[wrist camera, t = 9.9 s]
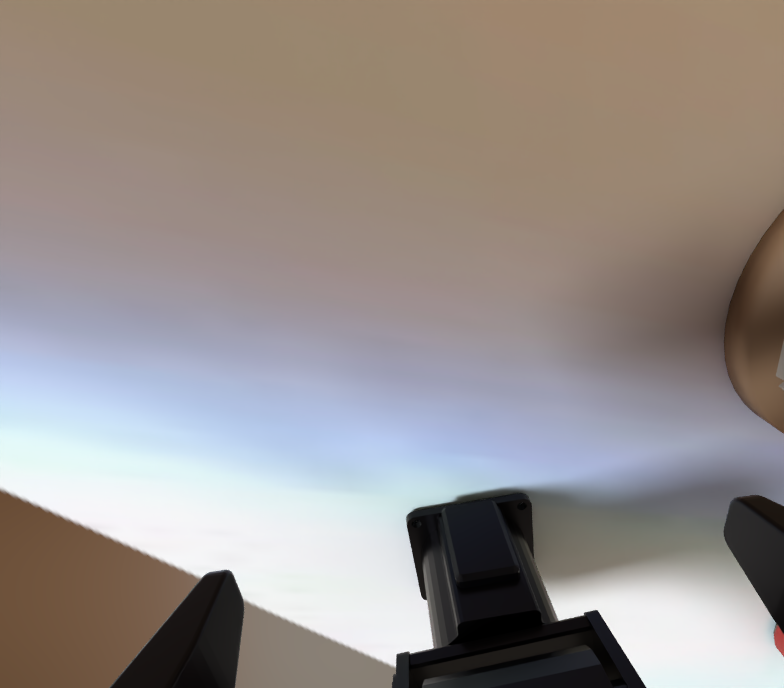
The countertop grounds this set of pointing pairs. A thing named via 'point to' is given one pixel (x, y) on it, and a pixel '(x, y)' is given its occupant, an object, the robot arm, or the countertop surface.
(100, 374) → the countertop surface
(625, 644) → the countertop surface
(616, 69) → the countertop surface
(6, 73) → the countertop surface
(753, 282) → the ring board
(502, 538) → the robot arm
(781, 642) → the beer can
